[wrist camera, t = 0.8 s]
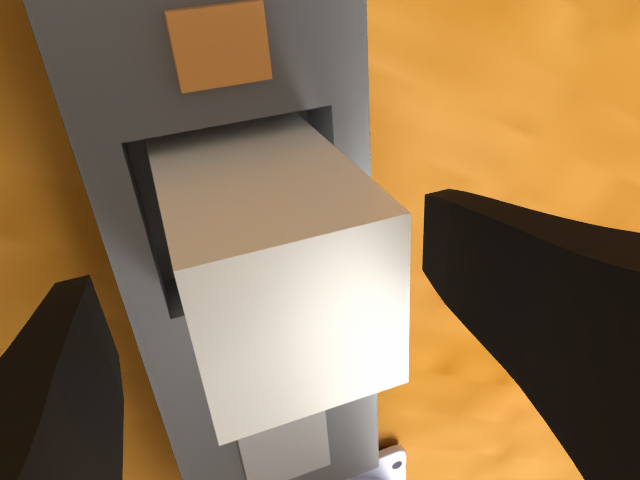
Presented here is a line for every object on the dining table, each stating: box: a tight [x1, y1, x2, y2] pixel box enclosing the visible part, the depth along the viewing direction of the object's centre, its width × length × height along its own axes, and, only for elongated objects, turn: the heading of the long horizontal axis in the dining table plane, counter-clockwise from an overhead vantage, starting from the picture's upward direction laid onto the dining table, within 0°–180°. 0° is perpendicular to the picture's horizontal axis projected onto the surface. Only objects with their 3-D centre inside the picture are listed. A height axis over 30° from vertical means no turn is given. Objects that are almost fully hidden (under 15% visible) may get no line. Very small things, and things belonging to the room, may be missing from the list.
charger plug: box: [145, 112, 411, 446], centre depth 12 cm, size 4×4×7 cm
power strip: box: [22, 0, 379, 480], centre depth 16 cm, size 18×7×3 cm, turn 4°
